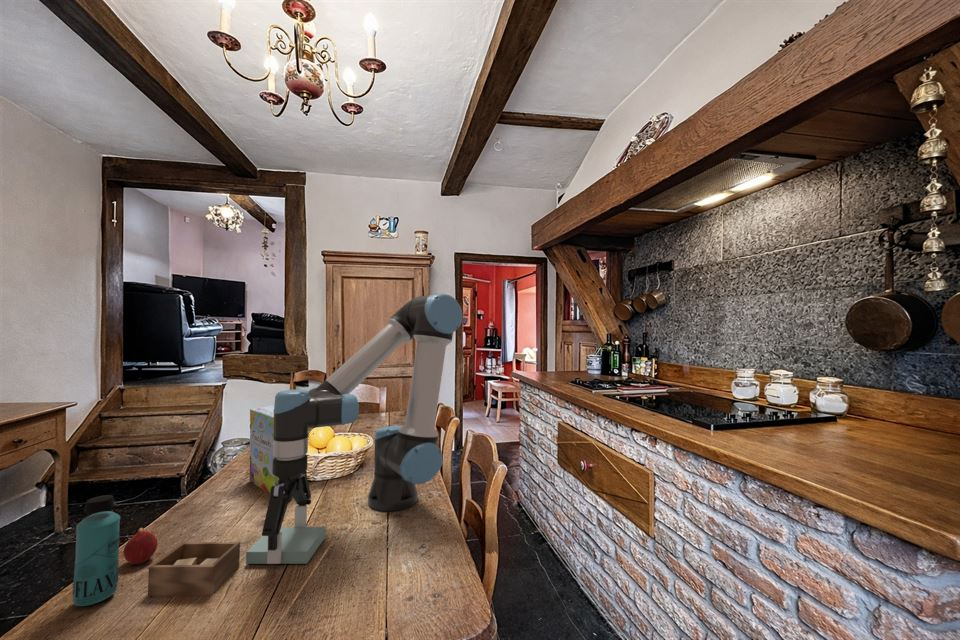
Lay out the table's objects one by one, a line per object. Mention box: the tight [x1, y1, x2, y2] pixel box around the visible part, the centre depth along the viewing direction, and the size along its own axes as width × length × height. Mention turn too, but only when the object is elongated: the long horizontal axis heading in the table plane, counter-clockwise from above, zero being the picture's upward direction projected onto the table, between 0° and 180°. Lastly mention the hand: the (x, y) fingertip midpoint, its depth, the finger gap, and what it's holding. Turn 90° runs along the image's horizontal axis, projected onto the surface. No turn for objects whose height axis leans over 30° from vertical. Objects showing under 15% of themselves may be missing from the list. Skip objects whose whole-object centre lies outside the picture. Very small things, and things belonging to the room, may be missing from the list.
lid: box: [245, 526, 327, 565], centre depth 95 cm, size 13×12×4 cm
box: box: [147, 541, 241, 597], centre depth 84 cm, size 12×9×6 cm
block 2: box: [200, 558, 219, 565], centre depth 84 cm, size 4×4×4 cm
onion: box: [123, 527, 158, 565], centre depth 90 cm, size 6×6×8 cm
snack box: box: [249, 405, 279, 495], centre depth 137 cm, size 22×9×26 cm, turn 49°
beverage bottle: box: [71, 494, 121, 607], centre depth 77 cm, size 6×7×20 cm
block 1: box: [174, 558, 197, 565], centre depth 83 cm, size 4×4×4 cm
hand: (288, 546), depth 95 cm, fingers open, 13 cm apart
